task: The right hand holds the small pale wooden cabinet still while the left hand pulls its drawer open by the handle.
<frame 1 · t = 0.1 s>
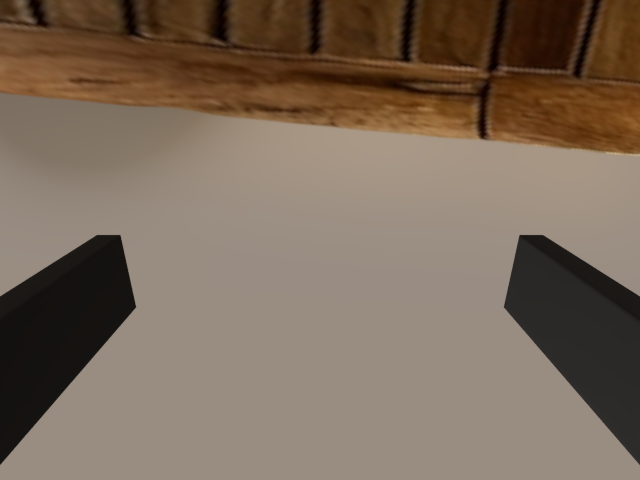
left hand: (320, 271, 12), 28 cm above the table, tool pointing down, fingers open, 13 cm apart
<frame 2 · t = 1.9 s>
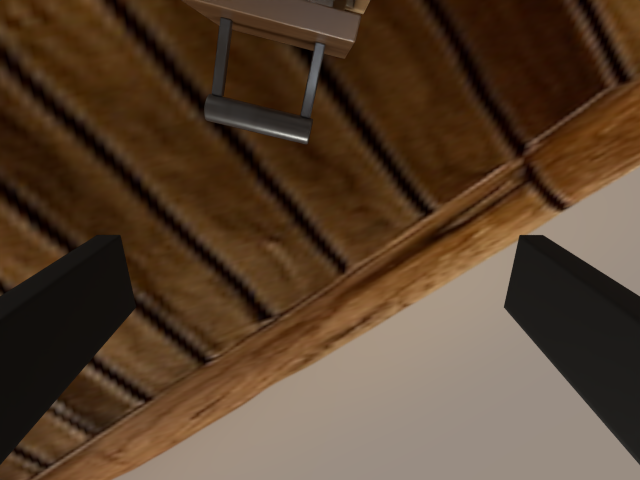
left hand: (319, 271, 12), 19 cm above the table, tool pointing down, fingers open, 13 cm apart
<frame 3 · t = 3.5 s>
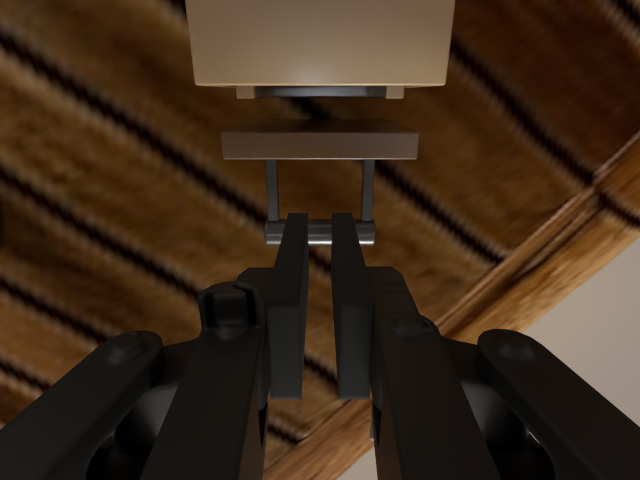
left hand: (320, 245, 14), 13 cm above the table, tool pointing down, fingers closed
drawer: (320, 41, 19), point 5 cm above the table, slide at 1.9 cm
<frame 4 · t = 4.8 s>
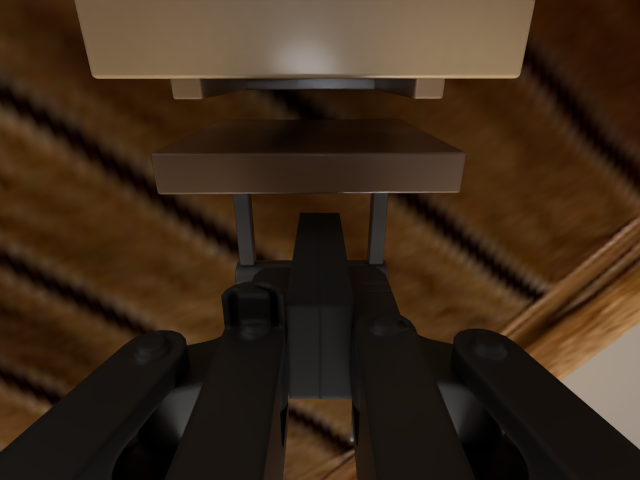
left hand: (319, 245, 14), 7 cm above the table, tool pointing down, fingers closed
drawer: (309, 8, 12), point 5 cm above the table, slide at 1.9 cm, touching left hand
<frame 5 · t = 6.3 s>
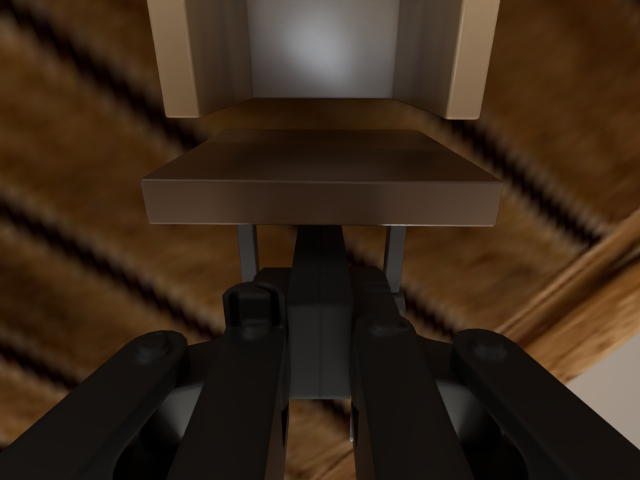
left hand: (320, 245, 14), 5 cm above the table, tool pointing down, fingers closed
drawer: (323, 11, 11), point 5 cm above the table, slide at 6.8 cm, touching left hand
when the right hand's fingers open (5 cm above the table, at t = 8.1 s): cabinet stays where it is, on the table.
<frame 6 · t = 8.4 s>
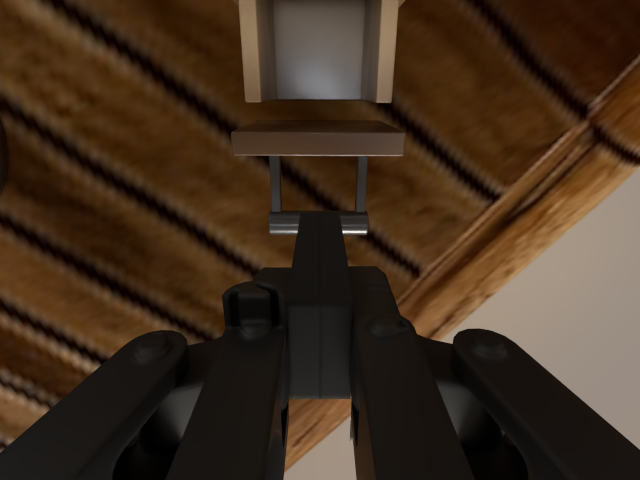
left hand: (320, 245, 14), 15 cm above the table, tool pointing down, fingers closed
drawer: (318, 51, 21), point 5 cm above the table, slide at 6.8 cm
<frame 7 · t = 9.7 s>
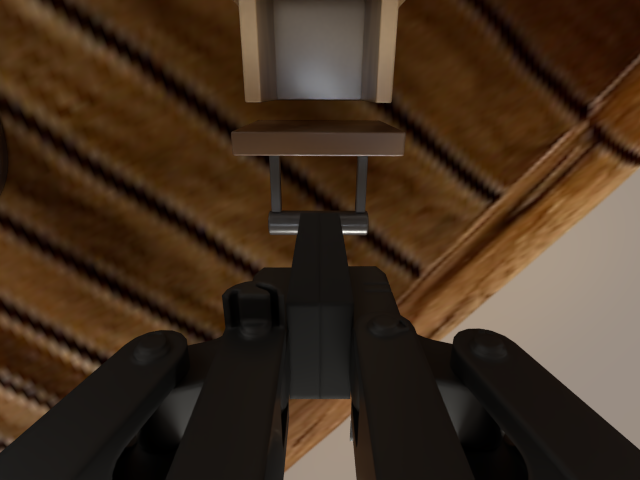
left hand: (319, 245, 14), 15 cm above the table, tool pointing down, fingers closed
drawer: (318, 51, 21), point 5 cm above the table, slide at 6.8 cm
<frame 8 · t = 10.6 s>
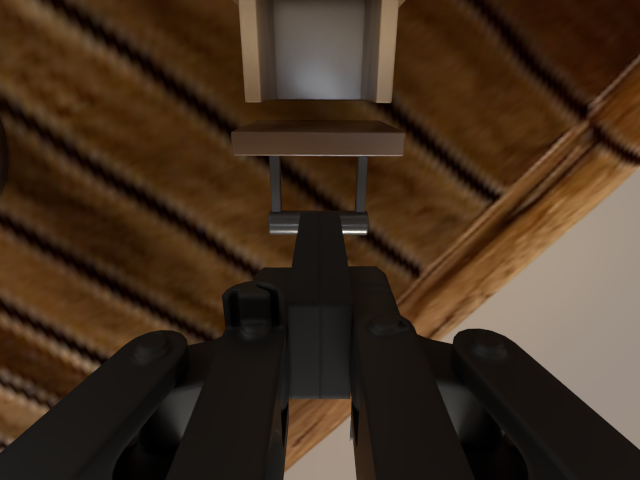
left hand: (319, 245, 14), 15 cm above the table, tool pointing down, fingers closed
drawer: (318, 51, 21), point 5 cm above the table, slide at 6.8 cm
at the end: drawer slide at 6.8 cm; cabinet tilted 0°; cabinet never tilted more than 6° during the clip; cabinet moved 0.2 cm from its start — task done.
